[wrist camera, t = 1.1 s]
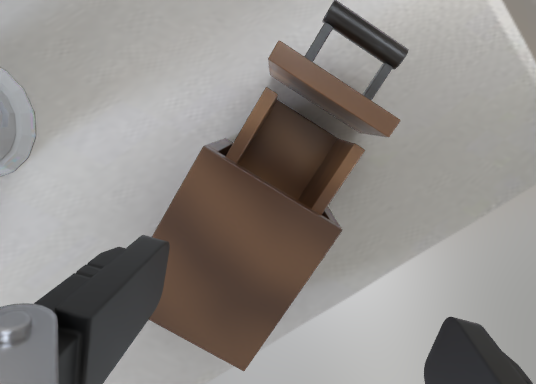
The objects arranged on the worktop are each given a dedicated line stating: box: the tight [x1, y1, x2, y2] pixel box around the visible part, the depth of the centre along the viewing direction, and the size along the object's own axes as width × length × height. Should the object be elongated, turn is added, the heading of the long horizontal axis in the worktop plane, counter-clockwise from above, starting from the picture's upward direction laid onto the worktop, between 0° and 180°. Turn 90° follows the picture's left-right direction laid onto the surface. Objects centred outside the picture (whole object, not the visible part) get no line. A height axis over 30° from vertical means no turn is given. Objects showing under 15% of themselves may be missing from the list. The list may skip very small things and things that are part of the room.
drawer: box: [226, 0, 408, 215], centre depth 23 cm, size 15×8×7 cm, turn 148°
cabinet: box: [149, 138, 342, 371], centre depth 25 cm, size 12×10×9 cm
